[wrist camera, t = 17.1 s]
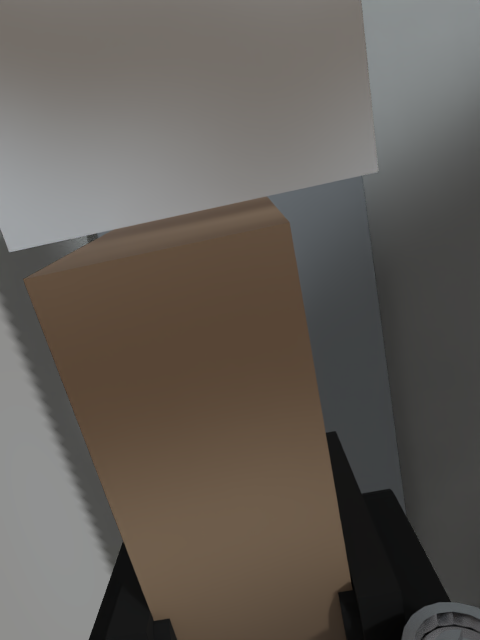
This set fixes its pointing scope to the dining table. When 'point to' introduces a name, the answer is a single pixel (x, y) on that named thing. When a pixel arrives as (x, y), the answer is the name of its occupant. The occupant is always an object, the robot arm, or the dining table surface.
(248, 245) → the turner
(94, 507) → the dining table surface
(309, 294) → the mat
